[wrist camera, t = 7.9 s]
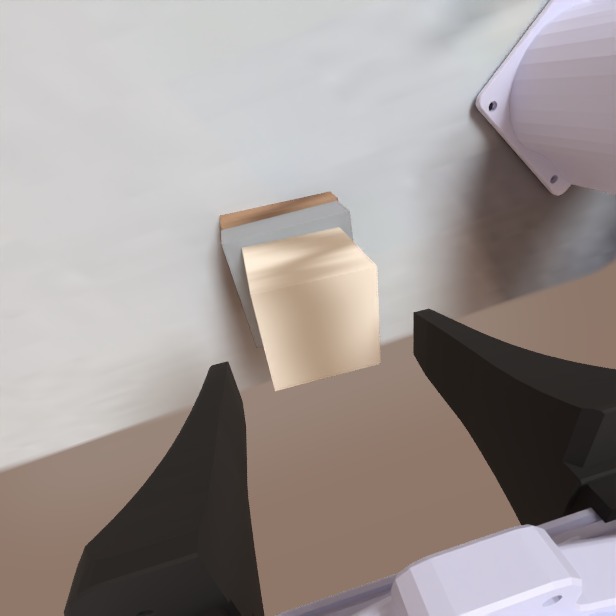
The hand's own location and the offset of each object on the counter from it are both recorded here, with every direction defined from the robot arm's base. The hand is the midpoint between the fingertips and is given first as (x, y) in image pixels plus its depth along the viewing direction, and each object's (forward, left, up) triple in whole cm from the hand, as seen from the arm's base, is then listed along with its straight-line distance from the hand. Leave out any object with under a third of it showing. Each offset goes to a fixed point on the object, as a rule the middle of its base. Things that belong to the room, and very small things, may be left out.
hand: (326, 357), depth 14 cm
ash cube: (0, 0, -7) cm, 7 cm away
